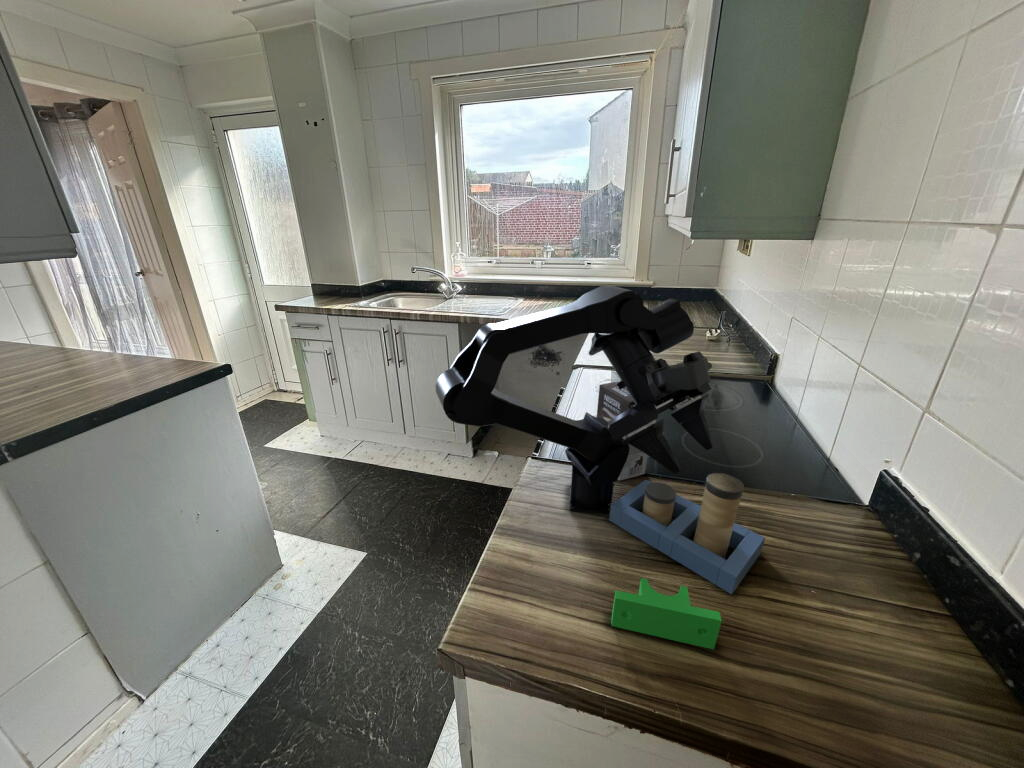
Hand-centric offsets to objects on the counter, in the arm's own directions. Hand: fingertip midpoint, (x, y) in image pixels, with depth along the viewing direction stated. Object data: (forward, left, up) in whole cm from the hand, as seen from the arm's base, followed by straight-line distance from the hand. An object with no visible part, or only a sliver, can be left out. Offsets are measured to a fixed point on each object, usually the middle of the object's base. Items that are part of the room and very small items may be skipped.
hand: (694, 459), depth 56 cm
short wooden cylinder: (-3, +3, -14) cm, 14 cm away
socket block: (0, 0, -14) cm, 14 cm away
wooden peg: (+4, -2, -14) cm, 14 cm away
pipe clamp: (-5, -15, -14) cm, 21 cm away
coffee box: (-7, +19, -14) cm, 24 cm away
